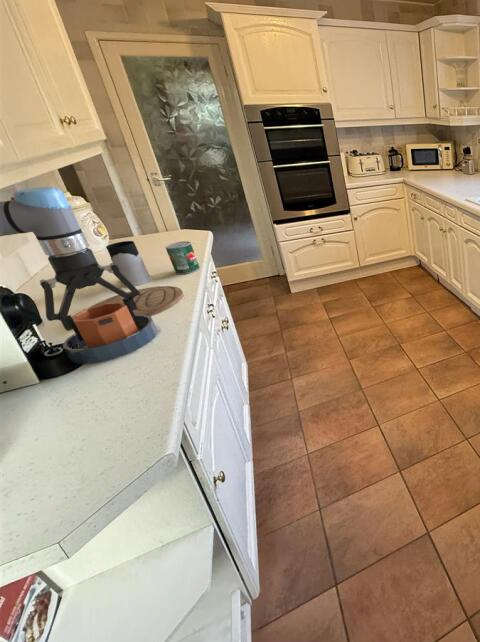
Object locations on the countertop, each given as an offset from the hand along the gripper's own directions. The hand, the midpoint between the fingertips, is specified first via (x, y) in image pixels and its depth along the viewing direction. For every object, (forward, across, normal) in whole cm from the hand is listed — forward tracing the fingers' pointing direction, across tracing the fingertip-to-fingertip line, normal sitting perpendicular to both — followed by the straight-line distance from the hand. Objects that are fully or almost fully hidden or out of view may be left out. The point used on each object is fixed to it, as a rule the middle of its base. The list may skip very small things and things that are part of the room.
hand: (109, 329), depth 105 cm
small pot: (+5, 0, 0) cm, 5 cm away
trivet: (+6, +9, +26) cm, 28 cm away
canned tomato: (+6, +30, +50) cm, 59 cm away
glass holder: (+6, +16, +56) cm, 58 cm away
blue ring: (+6, 0, 0) cm, 6 cm away
